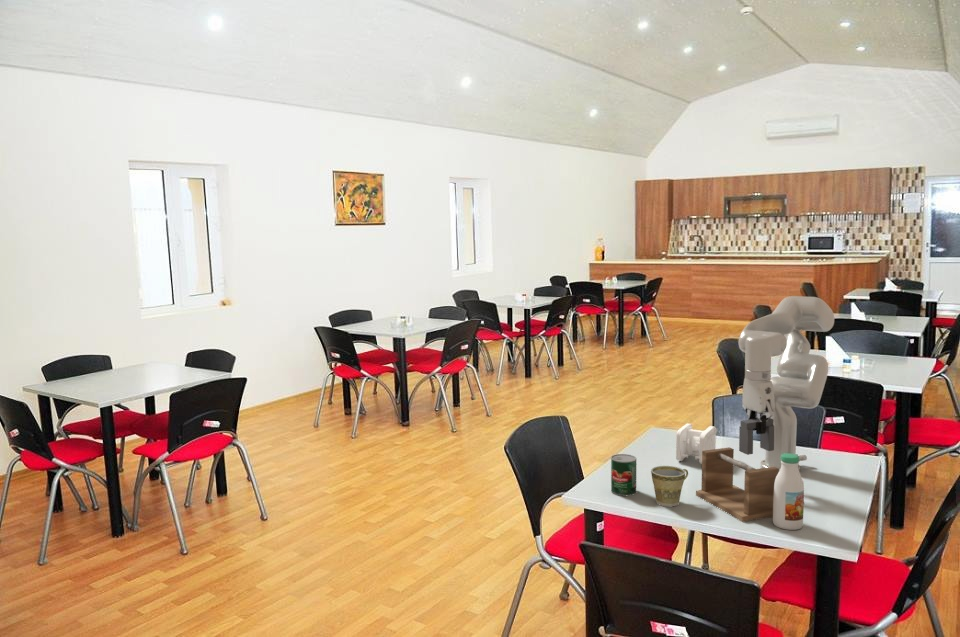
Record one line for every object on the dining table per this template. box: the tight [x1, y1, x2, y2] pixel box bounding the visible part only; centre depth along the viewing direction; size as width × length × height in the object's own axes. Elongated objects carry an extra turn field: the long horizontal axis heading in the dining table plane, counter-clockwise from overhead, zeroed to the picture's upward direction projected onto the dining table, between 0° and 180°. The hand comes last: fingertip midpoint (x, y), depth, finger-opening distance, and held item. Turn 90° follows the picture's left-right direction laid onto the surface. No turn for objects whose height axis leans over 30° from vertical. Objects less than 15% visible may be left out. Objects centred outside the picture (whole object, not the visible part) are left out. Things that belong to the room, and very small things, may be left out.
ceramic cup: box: [650, 465, 689, 507], centre depth 219 cm, size 13×10×10 cm
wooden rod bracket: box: [695, 446, 779, 523], centre depth 215 cm, size 22×14×14 cm, turn 18°
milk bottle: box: [772, 453, 805, 531], centre depth 199 cm, size 8×8×20 cm
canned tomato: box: [610, 453, 637, 497], centre depth 228 cm, size 8×8×11 cm
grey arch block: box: [738, 417, 774, 456], centre depth 228 cm, size 10×4×10 cm, turn 108°
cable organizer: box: [675, 422, 718, 465], centre depth 258 cm, size 15×11×12 cm
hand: (756, 431), depth 228 cm, fingers closed on grey arch block, 3 cm apart
